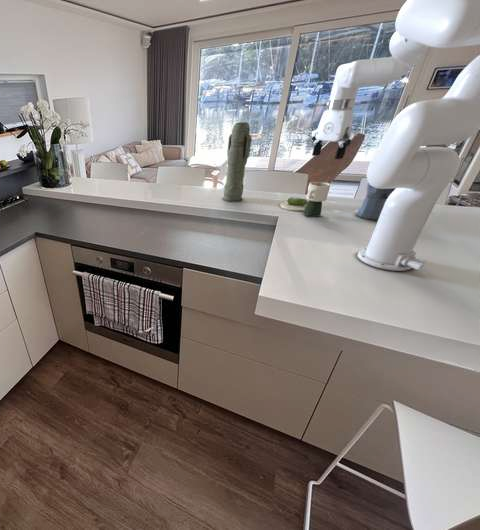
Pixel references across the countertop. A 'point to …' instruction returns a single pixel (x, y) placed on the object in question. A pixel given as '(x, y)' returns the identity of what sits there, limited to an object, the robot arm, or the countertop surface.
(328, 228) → the countertop surface
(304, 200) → the pickle
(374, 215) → the moka pot
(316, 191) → the character mug
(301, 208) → the plate
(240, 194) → the green cactus figure
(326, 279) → the countertop surface
